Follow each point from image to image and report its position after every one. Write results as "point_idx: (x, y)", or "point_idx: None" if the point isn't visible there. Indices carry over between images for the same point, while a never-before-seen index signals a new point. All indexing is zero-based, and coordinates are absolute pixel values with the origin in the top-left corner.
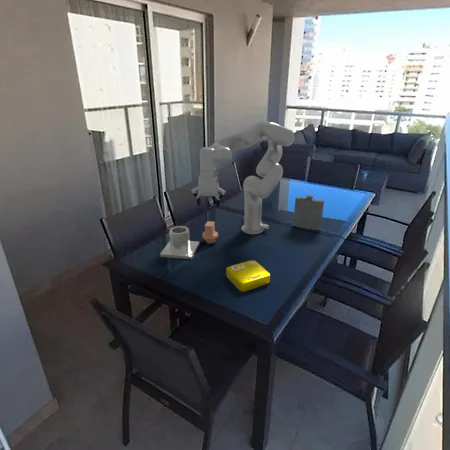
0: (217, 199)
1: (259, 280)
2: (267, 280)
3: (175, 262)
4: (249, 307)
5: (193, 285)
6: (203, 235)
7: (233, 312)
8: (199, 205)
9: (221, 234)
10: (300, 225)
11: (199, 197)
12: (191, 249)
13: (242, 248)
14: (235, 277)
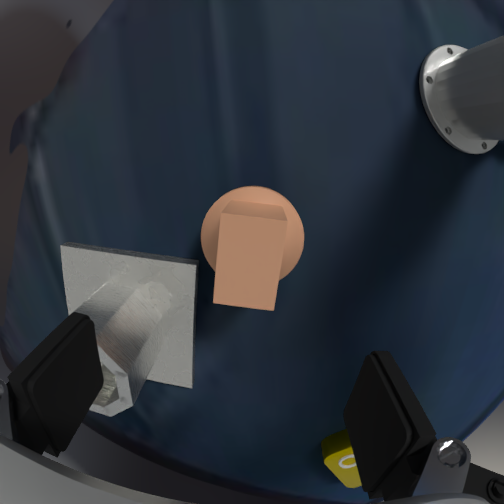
0: (387, 489)
1: None
2: None
3: (145, 390)
4: (350, 492)
5: (233, 468)
6: (211, 260)
7: (320, 501)
8: (101, 385)
9: (312, 135)
10: None
11: (36, 434)
12: (175, 340)
13: (408, 294)
14: (341, 479)
